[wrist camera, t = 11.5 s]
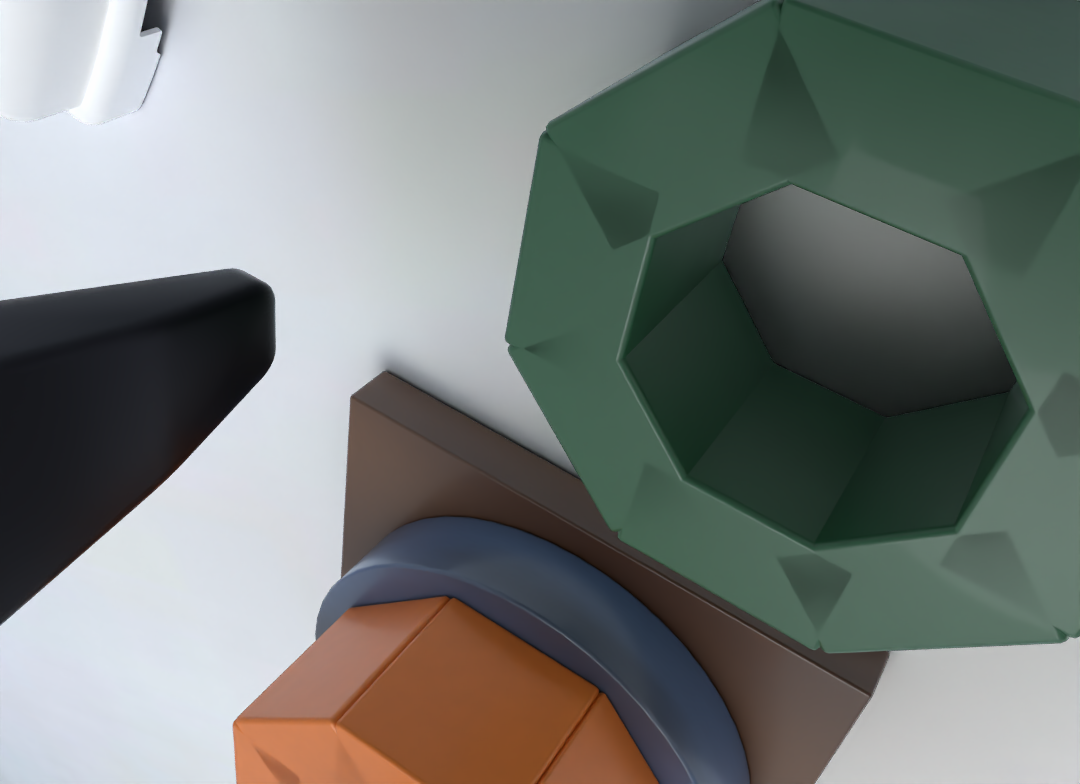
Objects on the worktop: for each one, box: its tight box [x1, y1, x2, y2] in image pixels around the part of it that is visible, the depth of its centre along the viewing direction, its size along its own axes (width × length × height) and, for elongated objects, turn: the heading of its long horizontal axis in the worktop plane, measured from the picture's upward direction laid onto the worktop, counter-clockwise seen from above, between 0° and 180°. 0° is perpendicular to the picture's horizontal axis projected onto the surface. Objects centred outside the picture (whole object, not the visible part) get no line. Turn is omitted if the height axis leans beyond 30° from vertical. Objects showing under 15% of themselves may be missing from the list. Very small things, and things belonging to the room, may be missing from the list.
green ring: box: [505, 0, 1080, 653], centre depth 12 cm, size 7×7×3 cm
